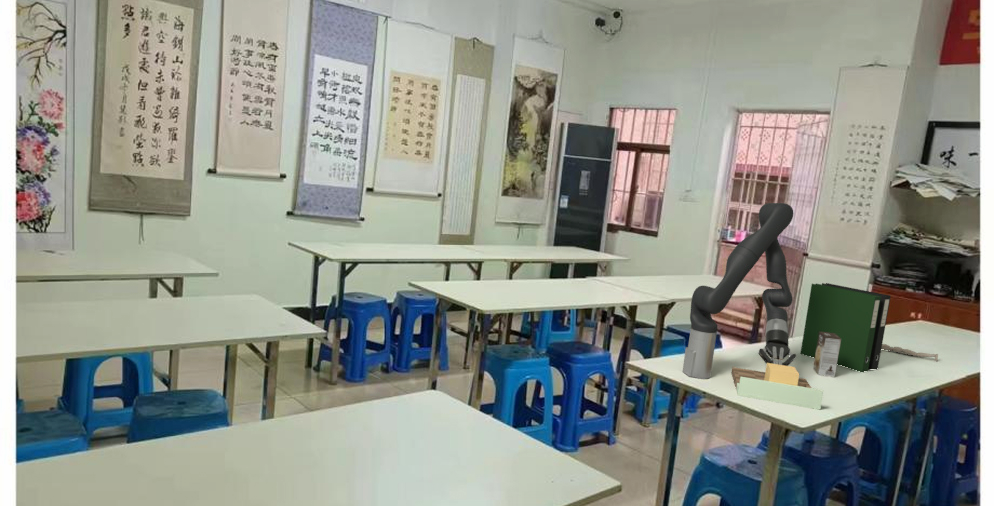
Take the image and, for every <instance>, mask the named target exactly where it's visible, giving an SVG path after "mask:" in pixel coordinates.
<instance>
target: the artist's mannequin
mask: <svg viewBox="0 0 994 506" xmlns="http://www.w3.org/2000/svg"><path fill="white" fill-rule="evenodd" d="M881 349H884V350H890V352H891V351H894V352H898V353H897V354H902V353H903V354H905V355H907V354H908V355H907V356H911V355H913V356H912V357H917V356H918V357H919V358H934V361H937V362H938V357H939V353H927V352H916V351H914V350H911V349H908V348H902V347H899V346H890V345H889V344H885V343H882V348H881ZM894 352H893V353H894Z"/></svg>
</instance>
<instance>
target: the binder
mask: <svg viewBox="0 0 994 506" xmlns="http://www.w3.org/2000/svg"><path fill="white" fill-rule="evenodd" d="M810 286H811V287H810V292H809V299H808V305H807V312H806V315H805V316H806V318H805V324H804V329H803V336H802V342H801V347H800V348H801V349H800V355H802V354H804V355H803V356H805V355H807V356H806V357H809V356H811V357H810V358H812V357H814V358H813V359H815V353H816V347H817V341H818V335H819V332H828V333H835V334H836V335H838V336H839V337H840V338H841V343H840V349H839V355H838V360H837V364H838V365H842V366H845V367H848V368H851V369H850V370H852V369H854V370H853V371H855V370H857V371H856V372H858V371H860V372H859V373H861V372H863V373H865V372H864V371H867V372H869V369H876V370H878V369H879V364H880V358H881V353H882V351H881V348H882V344H883V341H884V336H885V330H886V325H887V321H888V320H887V319H888V313H889V309H890V301H891V297H892V296H891V294H884V293H879V292H875V291H874V292H873V291H870V290H869V291H868V290H864V289H858V288H854V287H848V286H844V285H838V284H833V283H828V282H826V283H824V282H822V283H821V284H820V283H811V285H810ZM838 365H837V366H838ZM842 366H841V367H842ZM845 367H844V368H845ZM848 368H847V369H848ZM877 368H878V369H877Z"/></svg>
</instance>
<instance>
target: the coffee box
mask: <svg viewBox="0 0 994 506" xmlns="http://www.w3.org/2000/svg"><path fill="white" fill-rule="evenodd" d="M840 343H841V338H840V337H839V336H838V335H836V334H835V333H828V332H819V335H818V341H817V347H816V353H815V358H813V359H814V361H813V366H812V367H813V368H812V369H813V370H814V372H815V371H816V372H815V373H816V374H817V375H818V376H821V375H825V376H824V377H828V376H831V378H835V377H836V370H837V366H838V365H837V360H838V355H839V349H840Z"/></svg>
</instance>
